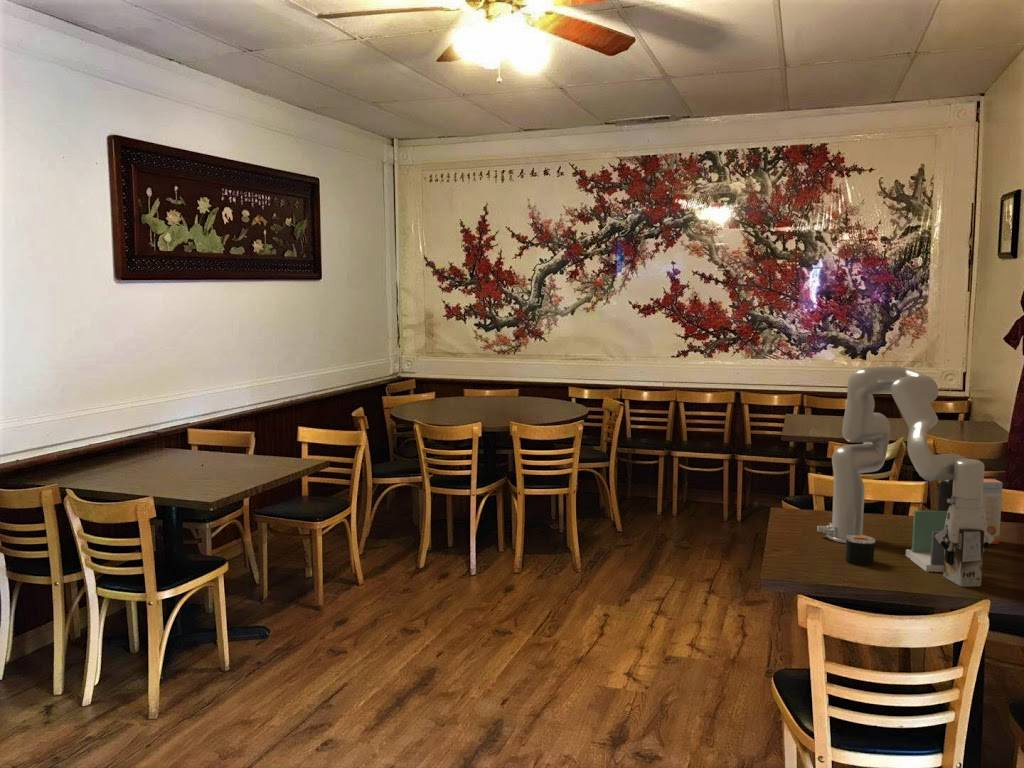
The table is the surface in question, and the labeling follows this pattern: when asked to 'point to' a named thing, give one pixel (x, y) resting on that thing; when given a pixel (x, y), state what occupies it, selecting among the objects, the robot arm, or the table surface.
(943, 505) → the wine bottle
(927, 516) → the shelf
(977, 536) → the coffee box
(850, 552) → the sushi
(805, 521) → the table surface
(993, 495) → the cracker box
